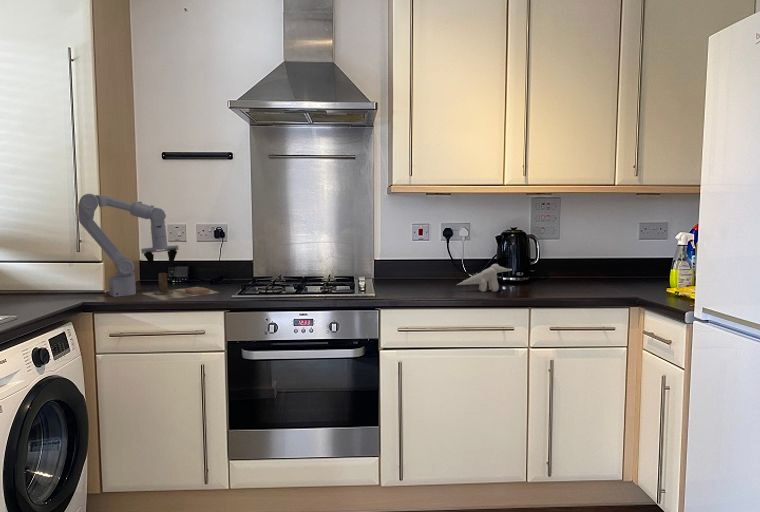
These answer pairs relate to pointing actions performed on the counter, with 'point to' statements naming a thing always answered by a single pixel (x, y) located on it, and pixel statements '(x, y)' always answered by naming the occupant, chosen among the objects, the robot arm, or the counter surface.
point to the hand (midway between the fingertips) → (162, 268)
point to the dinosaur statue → (486, 278)
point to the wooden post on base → (163, 285)
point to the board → (176, 294)
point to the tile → (197, 291)
